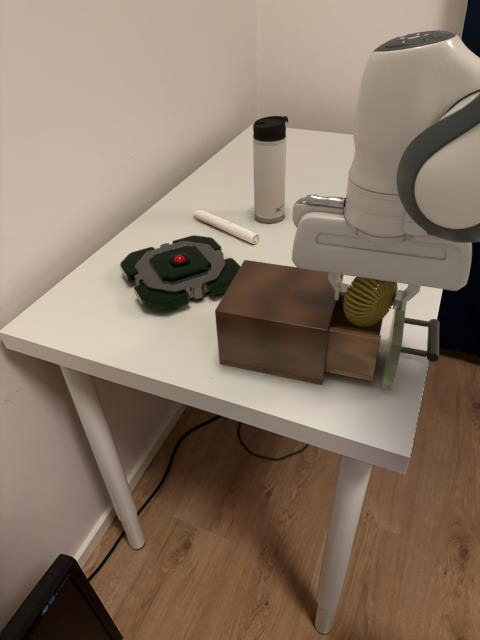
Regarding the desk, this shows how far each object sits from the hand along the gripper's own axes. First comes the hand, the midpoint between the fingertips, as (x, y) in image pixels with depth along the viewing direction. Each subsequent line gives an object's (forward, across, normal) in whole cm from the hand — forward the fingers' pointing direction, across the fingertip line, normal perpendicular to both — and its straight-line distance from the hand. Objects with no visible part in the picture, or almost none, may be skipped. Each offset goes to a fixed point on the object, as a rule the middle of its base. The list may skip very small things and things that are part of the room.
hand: (369, 302), depth 62 cm
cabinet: (+10, -12, 0) cm, 15 cm away
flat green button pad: (+10, -32, +12) cm, 36 cm away
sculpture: (+3, 0, 0) cm, 3 cm away
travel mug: (+10, -24, +38) cm, 46 cm away
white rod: (+10, -31, +30) cm, 45 cm away
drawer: (+9, 0, 0) cm, 9 cm away
